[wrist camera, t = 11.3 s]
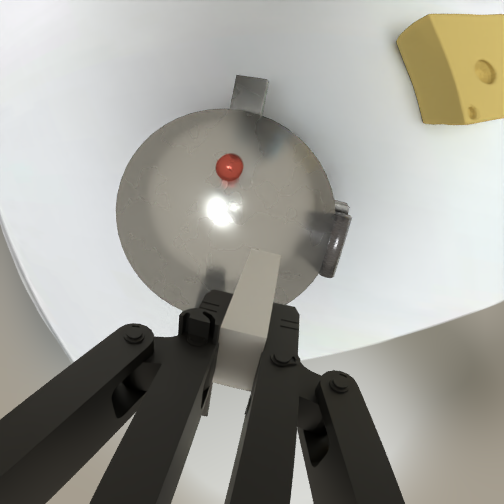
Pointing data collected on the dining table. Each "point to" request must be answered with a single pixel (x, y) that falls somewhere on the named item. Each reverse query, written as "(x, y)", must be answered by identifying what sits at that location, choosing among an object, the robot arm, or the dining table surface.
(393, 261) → the dining table surface
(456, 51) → the cheese
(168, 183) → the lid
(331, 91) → the dining table surface
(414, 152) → the dining table surface
